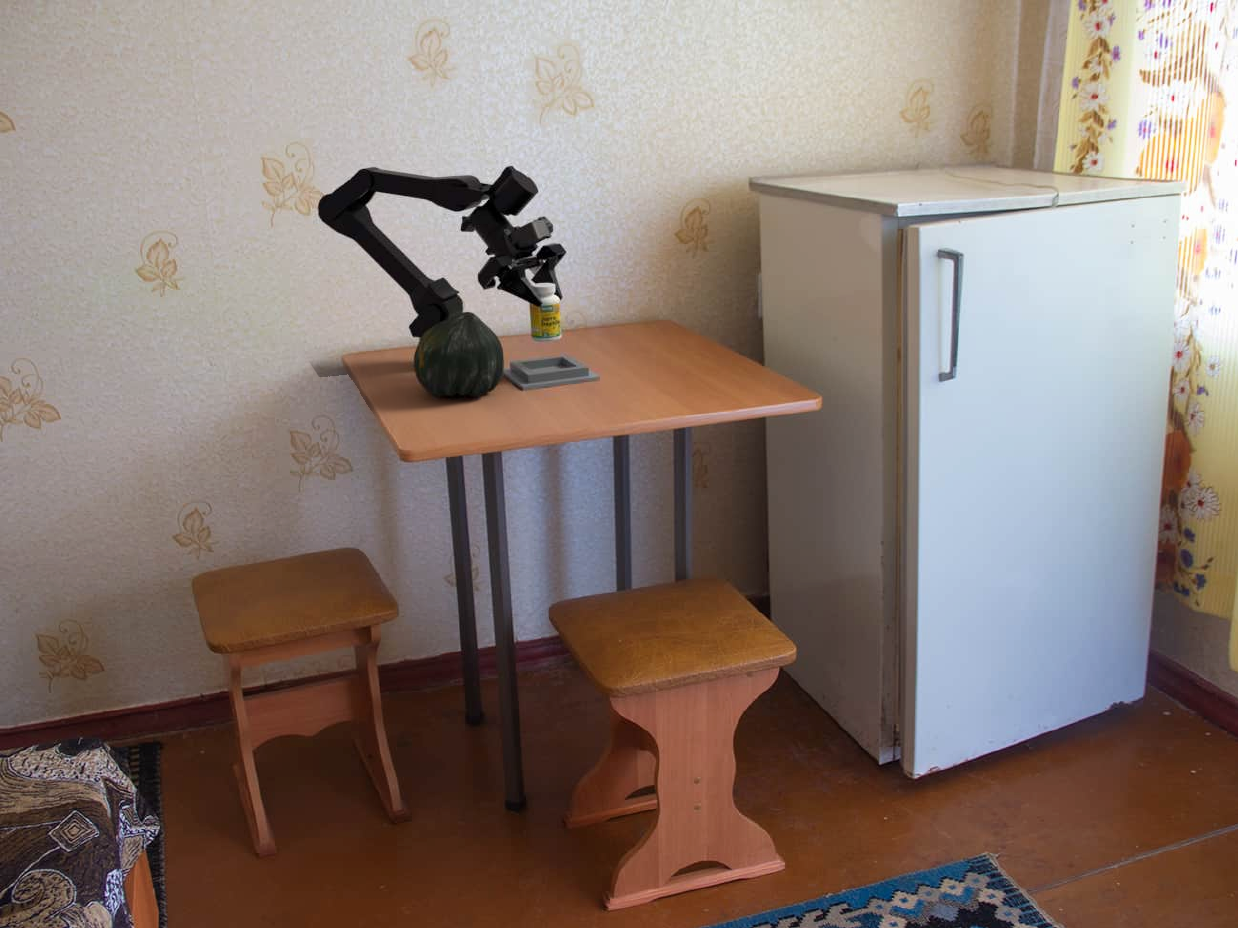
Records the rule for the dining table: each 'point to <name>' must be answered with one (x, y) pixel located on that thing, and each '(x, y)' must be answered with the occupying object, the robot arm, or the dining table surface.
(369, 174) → the robot arm
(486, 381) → the squash
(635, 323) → the dining table surface
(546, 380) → the tray
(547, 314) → the supplement bottle
